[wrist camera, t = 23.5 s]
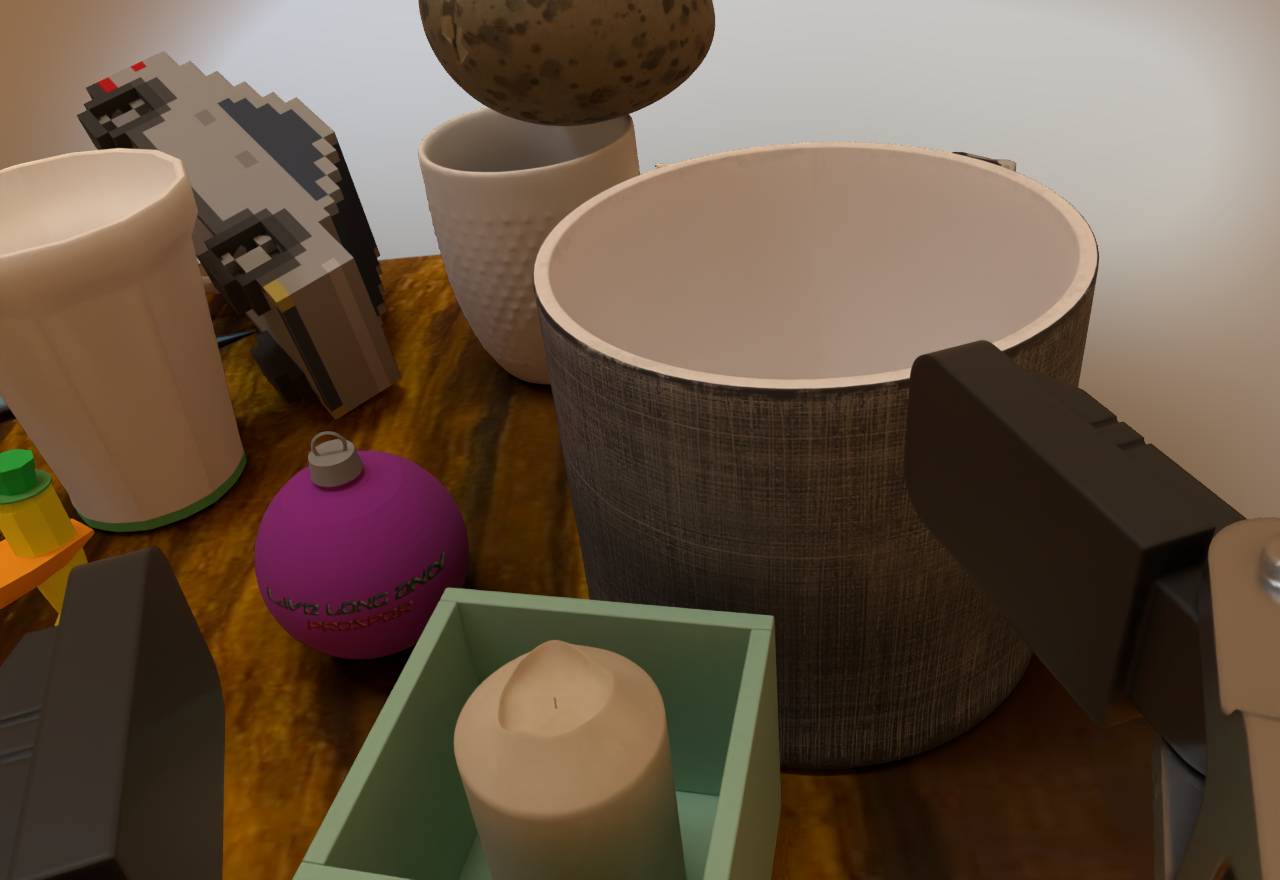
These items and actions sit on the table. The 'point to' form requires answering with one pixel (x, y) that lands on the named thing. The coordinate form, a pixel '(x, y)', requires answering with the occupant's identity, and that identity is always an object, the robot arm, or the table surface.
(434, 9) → the decorative egg
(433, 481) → the christmas ornament
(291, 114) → the toy car
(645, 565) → the planter
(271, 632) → the table surface
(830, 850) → the table surface
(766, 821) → the waste bin
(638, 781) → the candle
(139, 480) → the cup
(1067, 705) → the table surface
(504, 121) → the mug
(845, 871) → the table surface
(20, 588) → the toy figure
